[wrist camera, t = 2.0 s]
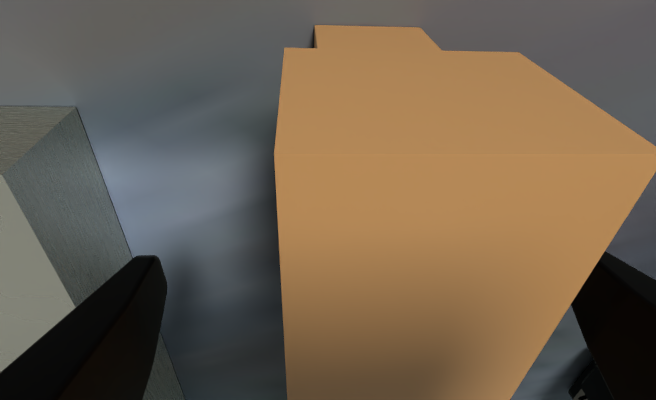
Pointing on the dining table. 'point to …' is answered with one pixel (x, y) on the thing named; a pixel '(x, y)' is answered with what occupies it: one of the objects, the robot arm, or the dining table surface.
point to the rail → (56, 232)
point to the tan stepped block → (435, 213)
